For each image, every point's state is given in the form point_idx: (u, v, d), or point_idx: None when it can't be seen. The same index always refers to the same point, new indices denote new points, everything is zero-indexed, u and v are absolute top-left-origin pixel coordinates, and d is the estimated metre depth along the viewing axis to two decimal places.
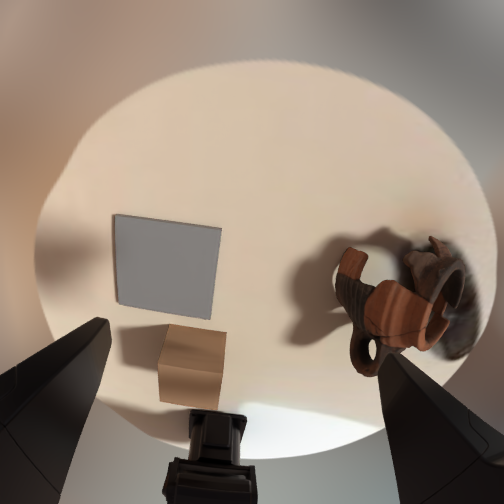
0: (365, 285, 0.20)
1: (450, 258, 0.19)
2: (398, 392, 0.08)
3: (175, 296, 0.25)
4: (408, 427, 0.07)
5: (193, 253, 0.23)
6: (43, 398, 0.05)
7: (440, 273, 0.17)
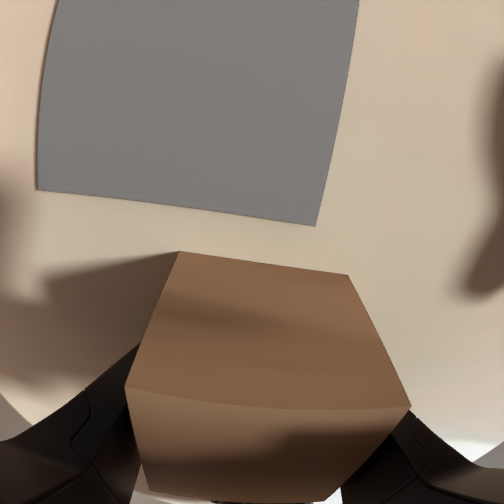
0: None
1: None
2: None
3: (210, 135, 0.07)
4: None
5: None
6: (123, 423, 0.05)
7: None
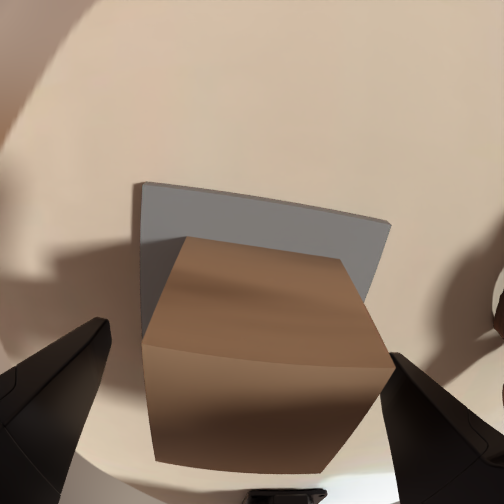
0: None
1: None
2: (398, 392, 0.08)
3: None
4: (408, 427, 0.07)
5: None
6: (43, 398, 0.05)
7: None
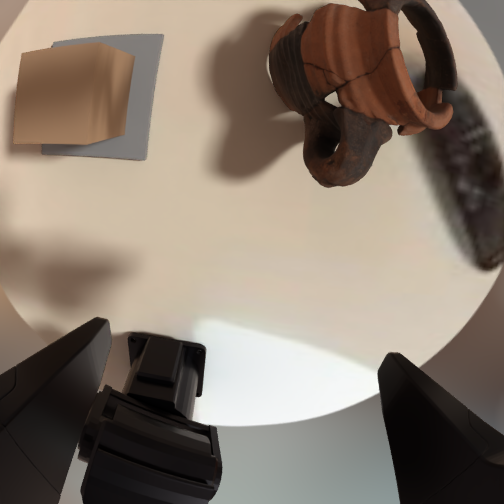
0: (296, 27, 0.12)
1: None
2: (398, 392, 0.08)
3: None
4: (408, 427, 0.07)
5: None
6: (43, 398, 0.05)
7: None
